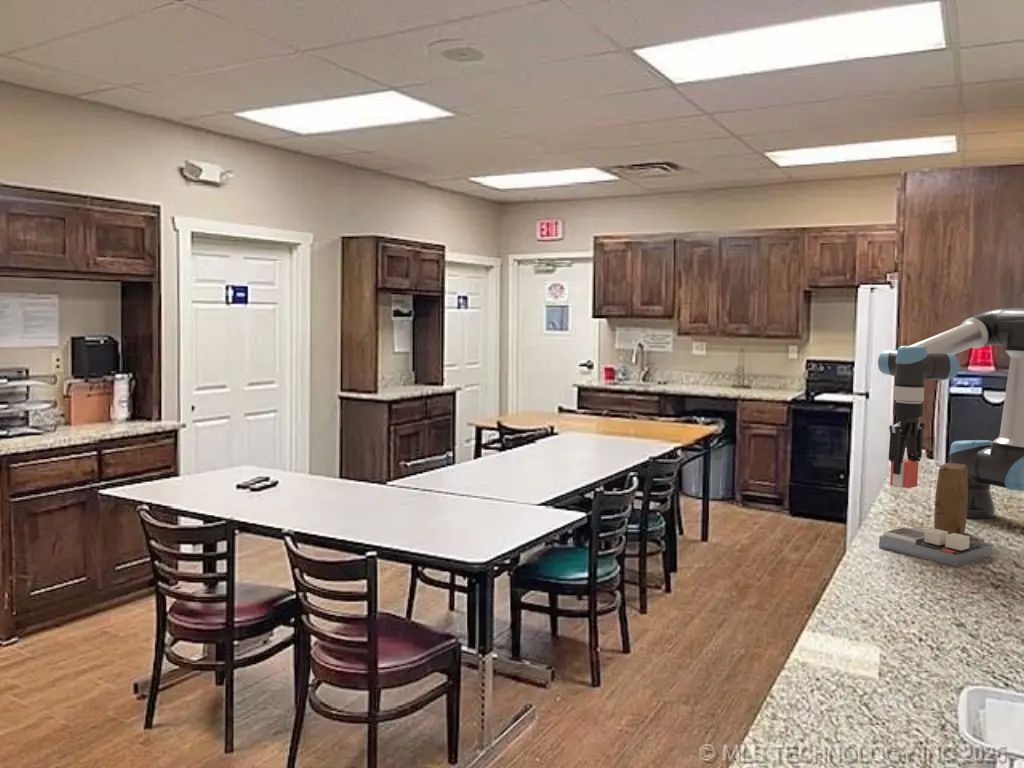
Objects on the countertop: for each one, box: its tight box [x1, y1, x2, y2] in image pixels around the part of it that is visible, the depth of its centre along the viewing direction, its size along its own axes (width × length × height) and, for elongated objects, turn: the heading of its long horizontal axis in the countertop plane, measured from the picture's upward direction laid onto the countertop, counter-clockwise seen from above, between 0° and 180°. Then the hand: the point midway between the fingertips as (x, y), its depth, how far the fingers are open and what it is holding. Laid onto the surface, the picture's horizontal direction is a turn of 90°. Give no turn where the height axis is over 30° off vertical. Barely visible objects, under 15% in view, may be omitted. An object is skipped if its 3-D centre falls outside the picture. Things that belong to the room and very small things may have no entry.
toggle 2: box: [945, 533, 971, 550], centre depth 216 cm, size 4×4×3 cm
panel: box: [878, 526, 993, 568], centre depth 224 cm, size 17×21×4 cm
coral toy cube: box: [889, 458, 919, 489], centre depth 236 cm, size 5×5×7 cm
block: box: [933, 462, 968, 535], centre depth 242 cm, size 11×8×20 cm
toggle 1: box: [924, 527, 948, 545], centre depth 220 cm, size 4×4×3 cm
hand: (903, 484), depth 237 cm, fingers closed on coral toy cube, 5 cm apart
